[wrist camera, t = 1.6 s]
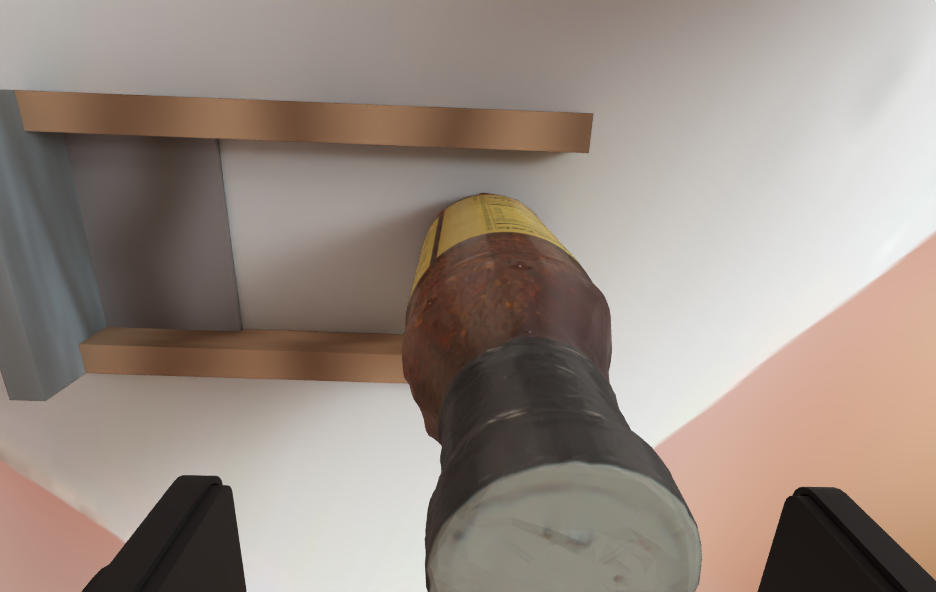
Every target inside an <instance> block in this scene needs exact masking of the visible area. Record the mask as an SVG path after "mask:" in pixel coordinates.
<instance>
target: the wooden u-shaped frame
mask: <svg viewBox="0 0 936 592" xmlns="http://www.w3.org/2000/svg"><path fill="white" fill-rule="evenodd" d="M592 120H593V114H592V113H568V112H543V111H519V110H494V109H469V108H444V107H420V106H395V105H370V104H345V103H321V102H296V101H271V100H246V99H222V98H197V97H172V96H147V95H123V94H98V93H73V92H48V91H24V90H0V370H1V373H2V377H3V380H4V383H5V386H6V389H7V392H8V395H9V399H10V400H28V401H46V400H48V399H49V398H51V397H52V396H54V395H55V394H56V393H58V392H59V391H61V390H62V389H64V388H65V387H66V386H68V385H69V384H71V383H72V382H74V381H75V380H77V379H78V378H79V377H81V376H82V375H84V374H85V373H99V374H131V375H162V376H193V377H224V378H255V379H287V380H318V381H349V382H380V383H408V382H407V381H406V379H405V378H404V374H403V362H402V347H403V339H404V335H401V334H371V333H341V332H312V331H282V330H252V329H242V326H241V318H240V310H239V302H238V294H237V287H236V279H235V271H234V263H233V255H232V247H231V239H230V232H229V224H228V216H227V208H226V200H225V192H224V184H223V177H222V169H221V161H220V153H219V145H218V138H219V139H245V140H270V141H296V142H321V143H347V144H372V145H398V146H423V147H449V148H474V149H500V150H525V151H551V152H576V153H589V146H590V138H591V129H592Z"/></svg>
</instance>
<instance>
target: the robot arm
mask: <svg viewBox="0 0 936 592" xmlns="http://www.w3.org/2000/svg"><path fill="white" fill-rule="evenodd" d="M82 592H246V585H245V578H244V571H243V564H242V556H241V549H240V542H239V535H238V528H237V521H236V514H235V507H234V500H233V493H232V489H231V487H230V486H227V485H223V484H222V481H221V479H220V478H219V477H218V476H194V475H182V476H180V477H178V478H177V479H176V480H175V481H174V482H173V483H172V485H171V486H170V487H169V489H168V490H167V491H166V492H165V494H164V495H163V496H162V498H161V499H160V500H159V501H158V503H157V504H156V505H155V507H154V508H153V509H152V510H151V512H150V513H149V514H148V516H147V517H146V518H145V519H144V521H143V522H142V523H141V525H140V526H139V527H138V528H137V530H136V531H135V532H134V534H133V535H132V536H131V537H130V539H129V540H128V541H127V542H126V544H125V545H124V546H123V548H122V549H121V550H120V552H119V553H118V554H117V555H116V557H115V558H114V559H113V561H112V562H111V563H110V564H109V565H107V566H106V567H104V568H102V569H101V570H100V571H99V572H98V573H97V574H96V575H95V576H94V577H93V578H92V580H91V581H90V582H89V583H88V584H87V586H86V587H85V588H84V589H83V591H82ZM758 592H936V581H935V580H934V579H933V578H932V577H931V576H930V575H929V574H928V573H927V572H926V571H925V570H924V569H923V568H922V567H921V566H920V565H919V564H918V563H917V562H916V561H915V560H914V559H913V558H911V556H910V555H909V554H908V553H907V552H905V551H904V550H903V549H902V548H901V547H900V546H899V545H898V544H897V543H896V542H895V541H894V540H893V539H892V538H891V537H890V536H889V535H888V534H887V533H886V532H885V531H883V529H882V528H881V527H880V526H879V525H878V524H877V523H876V522H875V521H874V520H873V519H871V518H870V517H869V516H868V515H867V514H866V513H865V512H864V511H863V510H862V509H861V508H860V507H859V506H858V505H857V504H856V503H855V502H854V501H853V500H852V499H851V498H850V497H849V496H848V495H847V494H846V493H844V492H843V491H842V490H840V489H837V488H834V487H830V488H829V487H800V488H798V489H796V490H795V492H794V494H793V496H789V497H788V498H787V499H786V501H785V503H784V507H783V510H782V513H781V516H780V520H779V523H778V526H777V529H776V533H775V536H774V539H773V543H772V546H771V549H770V553H769V556H768V559H767V563H766V566H765V569H764V572H763V576H762V579H761V583H760V586H759V589H758Z"/></svg>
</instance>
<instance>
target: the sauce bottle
mask: <svg viewBox="0 0 936 592" xmlns="http://www.w3.org/2000/svg"><path fill="white" fill-rule="evenodd" d="M405 329H406V330H405V333H404V339H403V347H402V362H403V374H404V378H405V379H406V381H407V382H408V384H409V385H410V389H411V393H412V396H413V398H414V400H415V402H416V403H417V405H418V406H419V408H420V410H421V412H422V415H423V418H424V423H425V428H426V431H427V433H428V435H429V436H430V437H432V438H434V439H435V440H436V441H438V442H439V443H440V444H441V446H442V450H441V455H440V463H441V475H440V476H439V479H438V483H437V486H436V489H435V491H434V492H433V494H432V497H431V499H430V502H429V507H428V512H427V521H426V530H425V532H426V536H425V549H426V558H425V573H426V588H427V590H428V592H695V591H696V589H697V586H698V585H699V580H700V571H701V561H702V555H701V554H702V553H701V541H700V537H699V532H698V527H697V524H696V522H695V520H694V518H693V516H692V514H691V512H690V510H689V508H688V506H687V504H686V502H685V500H684V498H683V497H682V495H681V493H680V491H679V489H678V487H677V485H676V483H675V482H674V480H673V478H672V475H671V473H670V471H669V470H668V468H667V467H666V466H665V464H664V463H663V461H662V460H661V458H660V457H659V456H658V455H657V453H656V452H655V451H654V450H653V448H652V447H651V446H650V445H648V444H647V443H646V442H645V441H644V440H643V439H642V438H640V437H639V436H638V435H637V434H636V433H634V432H633V431H631V429H630V427H629V425H628V424H627V422H626V420H625V418H624V416H623V415H622V413H621V412H620V410H619V407H618V403H617V400H616V395H615V393H614V392H613V390H612V387H611V385H610V384H609V372H608V371H609V367H610V362H611V354H612V341H611V317H610V310H609V307H608V304H607V301H606V299H605V297H604V295H603V294H602V292H601V291H600V290H599V289H598V288H597V287H596V286H595V285H594V284H593V282H592V281H591V279H590V278H589V276H588V275H587V273H586V272H585V270H584V269H583V268H582V266H581V265H580V264H579V262H578V261H577V260H576V259H575V258H574V257H573V256H572V255H571V254H570V253H569V252H568V251H567V250H566V248H565V247H564V246H563V245H562V244H561V243H560V242H559V241H558V239H557V238H556V237H555V236H554V235H553V234H552V233H551V232H550V231H549V230H548V229H547V227H546V226H545V225H544V224H543V223H542V222H541V221H540V219H539V218H538V217H537V216H536V215H535V214H534V213H533V212H532V211H531V210H530V209H529V208H528V207H526V206H525V205H523V204H522V203H520V202H519V201H517V200H514V199H511V198H508V197H504V196H499V195H494V194H488V193H480V194H479V195H476V196H472V197H467V198H465V199H463V200H460V201H458V202H456V203H454V204H452V205H451V206H449V207H448V208H446V209H445V210H443V211H442V212H441V213H440V214H439V215H438V217H437V218H436V220H435V221H434V222H433V224H432V225H431V227H430V229H429V230H428V232H427V235H426V237H425V240H424V242H423V246H422V250H421V254H420V258H419V262H418V266H417V270H416V274H415V278H414V282H413V286H412V290H411V294H410V298H409V302H408V307H407V312H406V322H405Z"/></svg>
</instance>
